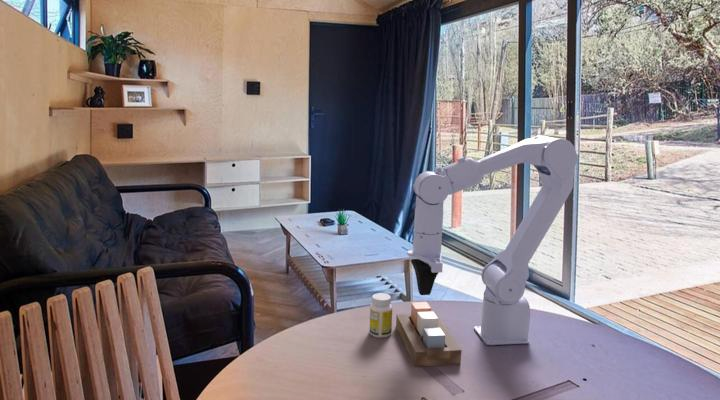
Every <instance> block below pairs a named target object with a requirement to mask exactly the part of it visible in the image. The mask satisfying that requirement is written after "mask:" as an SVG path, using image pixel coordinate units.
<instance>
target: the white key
mask: <svg viewBox="0 0 720 400" xmlns="http://www.w3.org/2000/svg"><path fill="white" fill-rule="evenodd" d="M435 313H436V312H434V311H432V310H431V312H417V330H418V332H419V334H420V335H421V336H423V330H424V328H438V318H437V316H436V315H435Z"/></svg>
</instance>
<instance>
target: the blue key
mask: <svg viewBox="0 0 720 400" xmlns="http://www.w3.org/2000/svg"><path fill="white" fill-rule="evenodd" d="M423 344H424V346H425V348H445V334H444V333H443V331H442V330H441V328H424V330H423Z"/></svg>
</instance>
